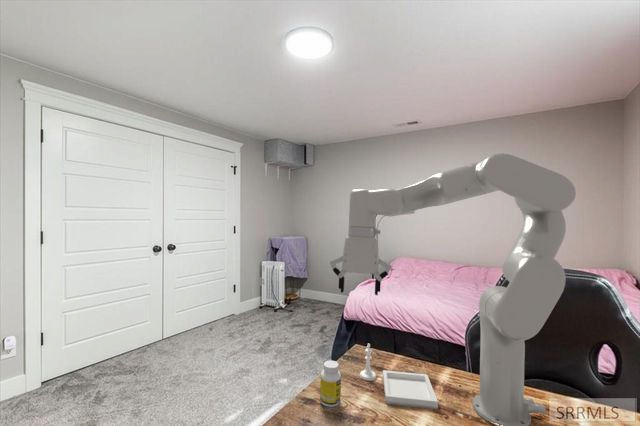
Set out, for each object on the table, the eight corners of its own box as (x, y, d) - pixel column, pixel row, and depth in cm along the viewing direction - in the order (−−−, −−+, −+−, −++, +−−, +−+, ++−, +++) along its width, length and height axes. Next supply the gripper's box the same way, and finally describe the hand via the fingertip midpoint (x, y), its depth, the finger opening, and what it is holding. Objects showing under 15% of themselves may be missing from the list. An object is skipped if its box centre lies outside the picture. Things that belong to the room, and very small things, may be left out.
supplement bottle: (339, 409, 75) (339, 370, 75) (318, 406, 76) (318, 367, 76) (341, 396, 80) (342, 360, 80) (322, 393, 82) (322, 357, 82)
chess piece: (378, 375, 91) (379, 342, 91) (372, 382, 87) (373, 348, 87) (363, 370, 94) (364, 338, 94) (357, 377, 90) (357, 344, 90)
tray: (427, 381, 89) (427, 374, 89) (437, 409, 76) (437, 401, 76) (382, 376, 91) (382, 370, 91) (385, 403, 78) (386, 396, 78)
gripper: (391, 233, 87) (389, 291, 87) (333, 230, 90) (330, 287, 90) (393, 235, 79) (391, 299, 80) (329, 232, 82) (327, 293, 82)
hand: (359, 292), depth 85 cm, fingers open, 9 cm apart
